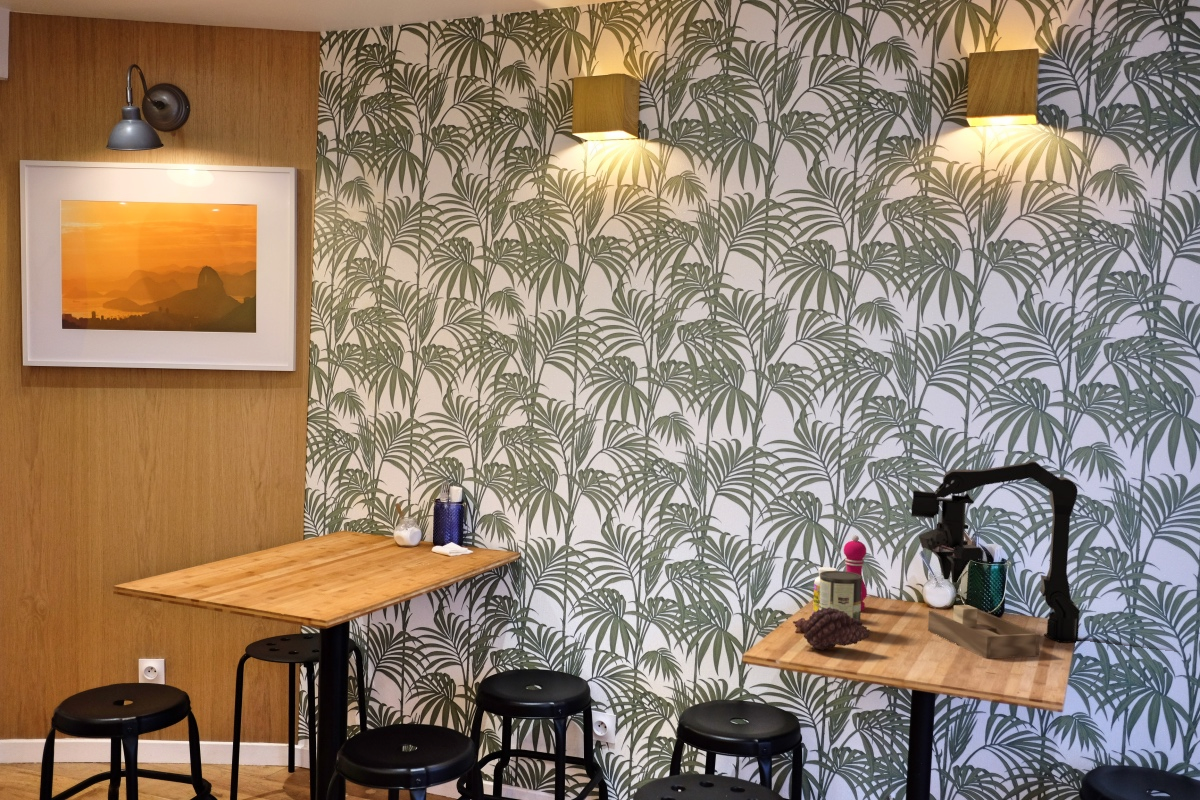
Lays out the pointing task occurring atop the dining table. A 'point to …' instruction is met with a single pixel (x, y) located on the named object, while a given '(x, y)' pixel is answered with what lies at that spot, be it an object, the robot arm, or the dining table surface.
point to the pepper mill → (856, 562)
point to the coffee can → (841, 592)
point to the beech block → (965, 615)
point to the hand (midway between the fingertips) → (950, 580)
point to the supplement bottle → (817, 588)
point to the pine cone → (831, 629)
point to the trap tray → (987, 636)
